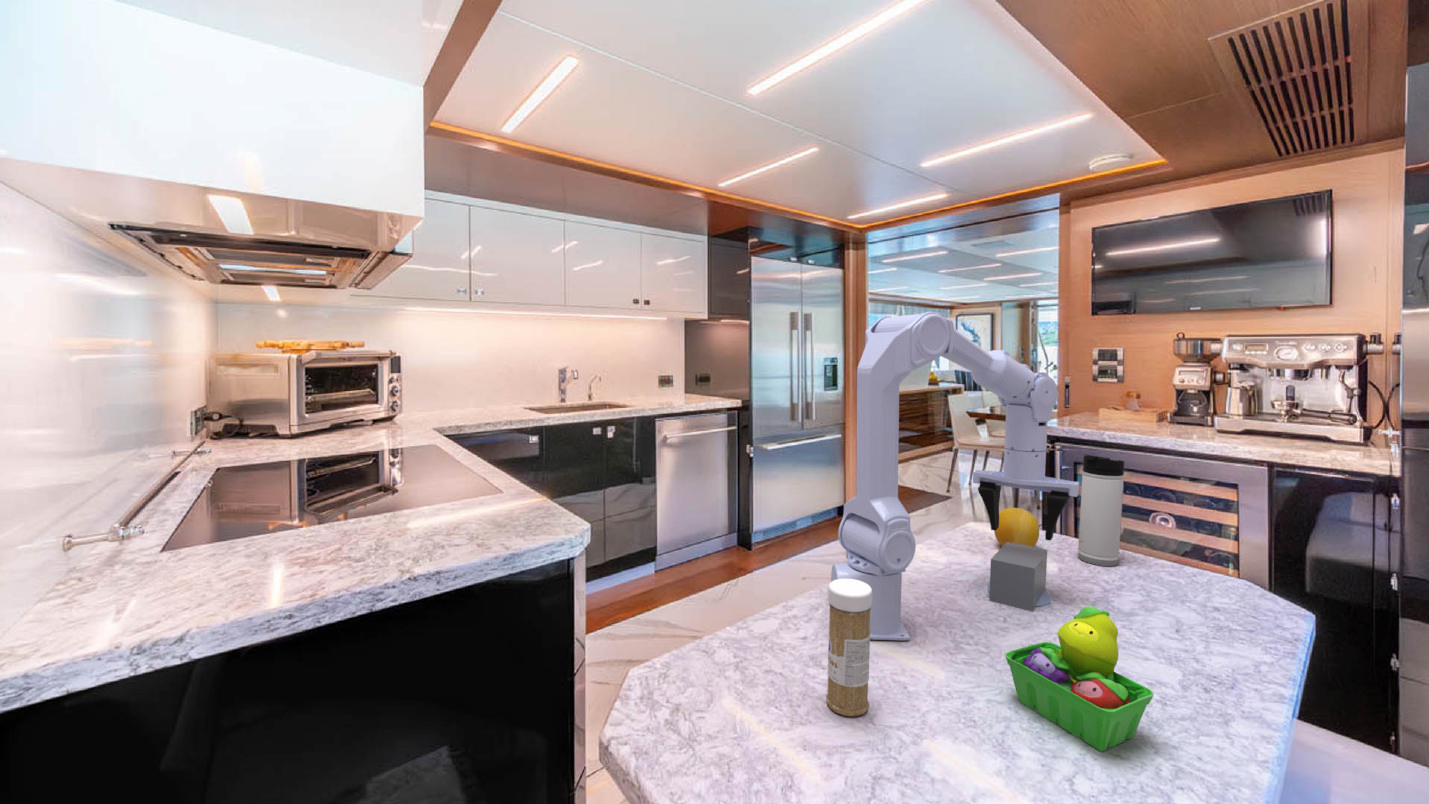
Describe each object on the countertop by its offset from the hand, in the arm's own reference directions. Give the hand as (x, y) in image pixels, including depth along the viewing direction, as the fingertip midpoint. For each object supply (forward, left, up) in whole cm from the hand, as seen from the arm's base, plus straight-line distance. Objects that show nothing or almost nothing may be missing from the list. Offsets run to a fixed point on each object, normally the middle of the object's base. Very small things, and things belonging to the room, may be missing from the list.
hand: (1021, 533), depth 88 cm
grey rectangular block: (0, 0, -10) cm, 10 cm away
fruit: (+10, +22, -10) cm, 26 cm away
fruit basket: (-9, -31, -10) cm, 34 cm away
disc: (0, 0, -10) cm, 10 cm away
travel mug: (+22, +16, -10) cm, 29 cm away
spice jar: (-33, -30, -10) cm, 46 cm away
